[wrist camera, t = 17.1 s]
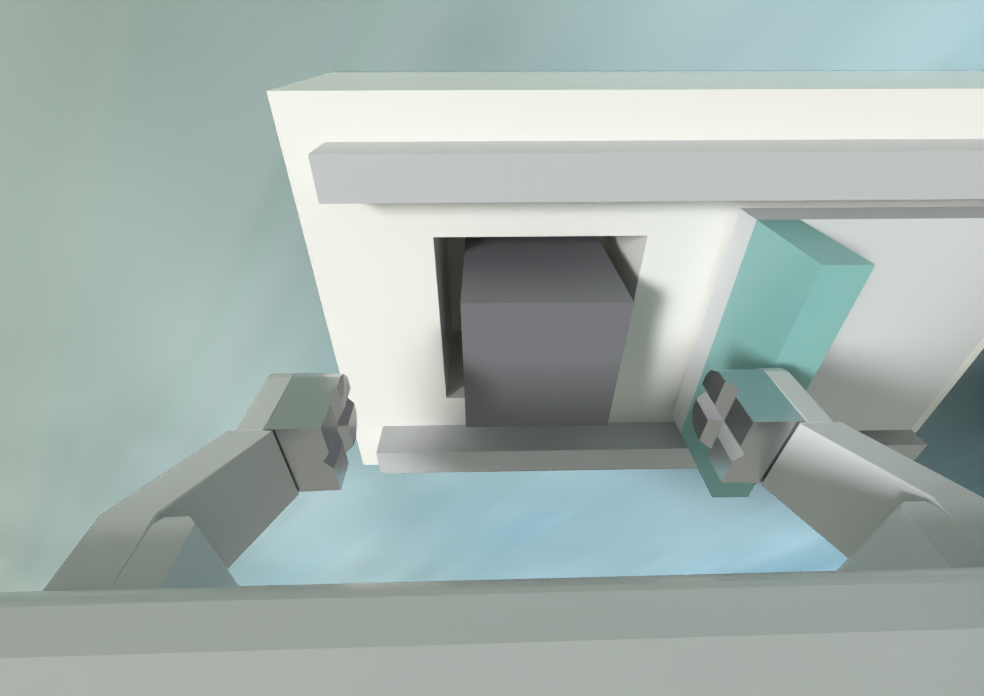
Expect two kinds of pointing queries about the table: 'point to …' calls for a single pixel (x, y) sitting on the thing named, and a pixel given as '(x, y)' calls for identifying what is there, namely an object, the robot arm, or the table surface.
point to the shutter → (843, 312)
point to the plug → (541, 331)
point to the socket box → (584, 221)
